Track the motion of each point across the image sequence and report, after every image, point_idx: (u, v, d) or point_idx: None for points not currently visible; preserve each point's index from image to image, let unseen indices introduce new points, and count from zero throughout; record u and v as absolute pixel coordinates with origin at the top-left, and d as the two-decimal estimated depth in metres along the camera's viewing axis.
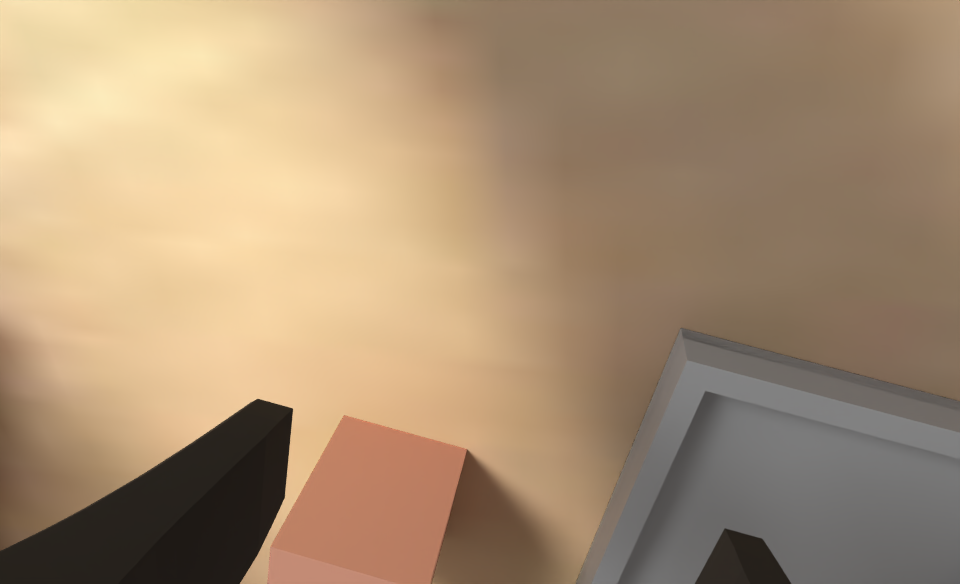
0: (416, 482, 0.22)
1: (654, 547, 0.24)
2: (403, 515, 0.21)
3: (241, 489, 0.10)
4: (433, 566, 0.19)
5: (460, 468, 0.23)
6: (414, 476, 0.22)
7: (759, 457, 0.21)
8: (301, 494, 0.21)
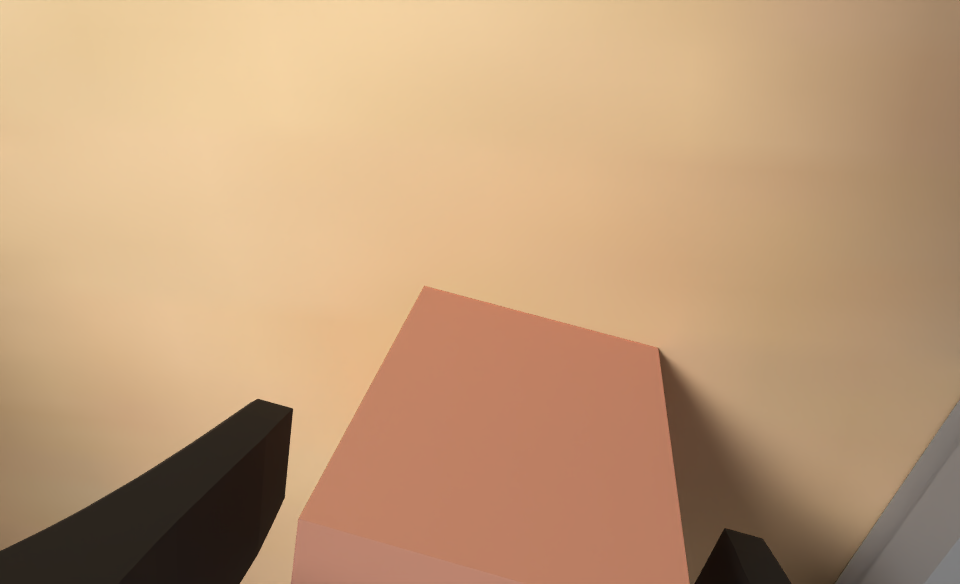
0: (587, 397, 0.11)
1: None
2: (582, 457, 0.09)
3: (241, 489, 0.10)
4: (684, 567, 0.08)
5: (659, 377, 0.12)
6: (580, 386, 0.11)
7: None
8: (360, 410, 0.09)
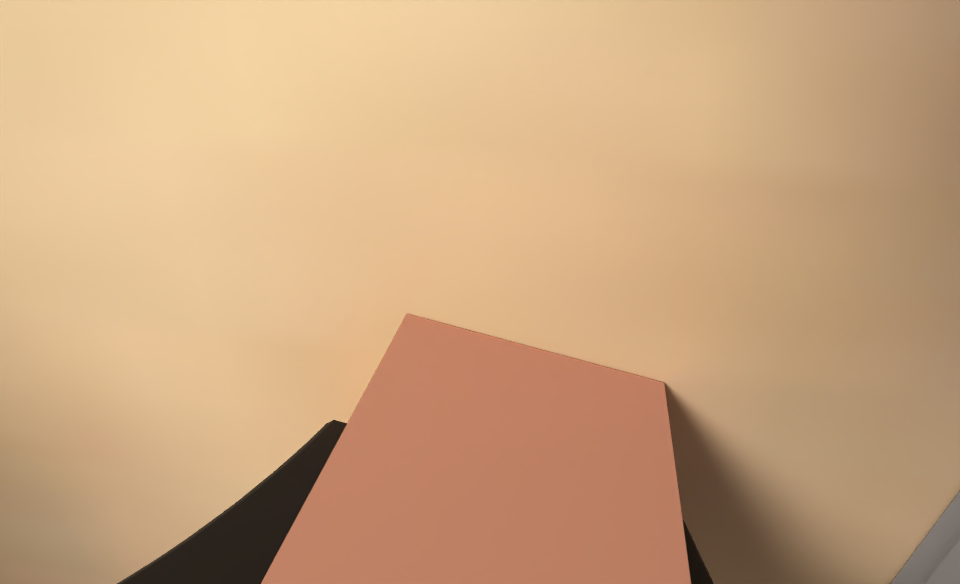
0: (584, 447, 0.10)
1: None
2: (580, 523, 0.08)
3: None
4: None
5: (665, 419, 0.11)
6: (578, 433, 0.10)
7: None
8: (325, 471, 0.08)
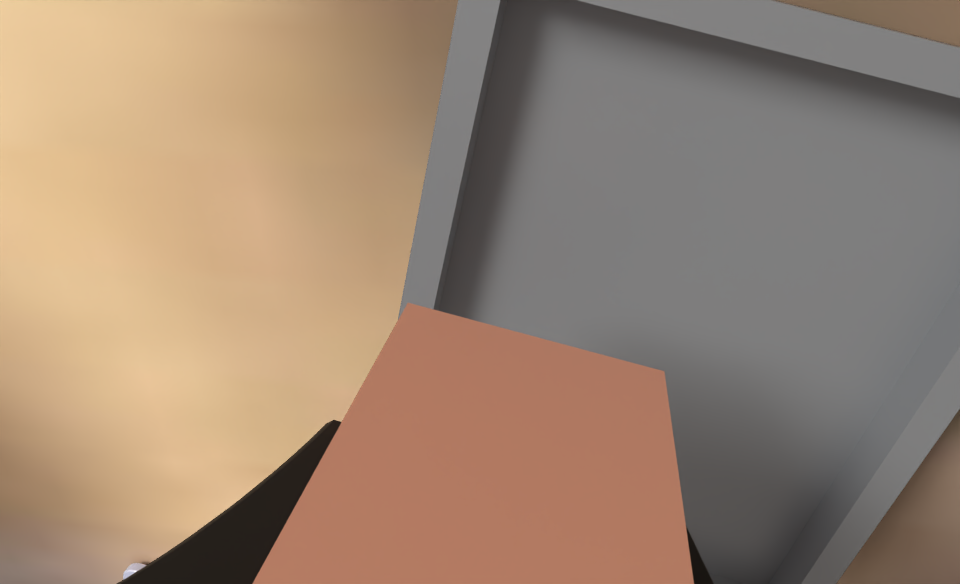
0: (585, 433, 0.10)
1: (483, 297, 0.18)
2: (580, 507, 0.08)
3: None
4: None
5: (666, 407, 0.11)
6: (579, 420, 0.10)
7: (606, 134, 0.15)
8: (328, 454, 0.08)
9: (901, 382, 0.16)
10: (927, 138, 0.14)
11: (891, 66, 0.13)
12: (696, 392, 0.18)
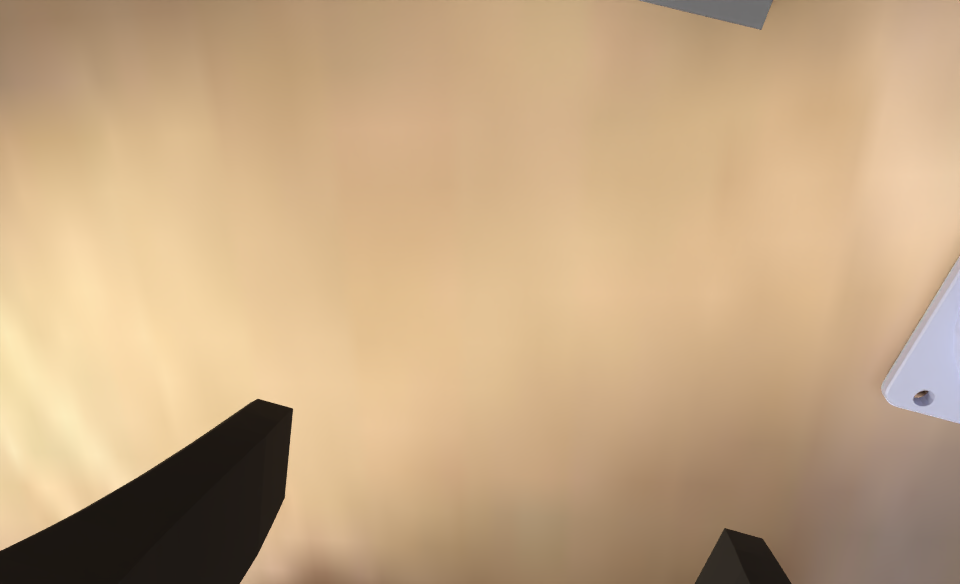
0: None
1: None
2: None
3: (241, 489, 0.10)
4: None
5: None
6: None
7: None
8: None
9: None
10: None
11: None
12: None
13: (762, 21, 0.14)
